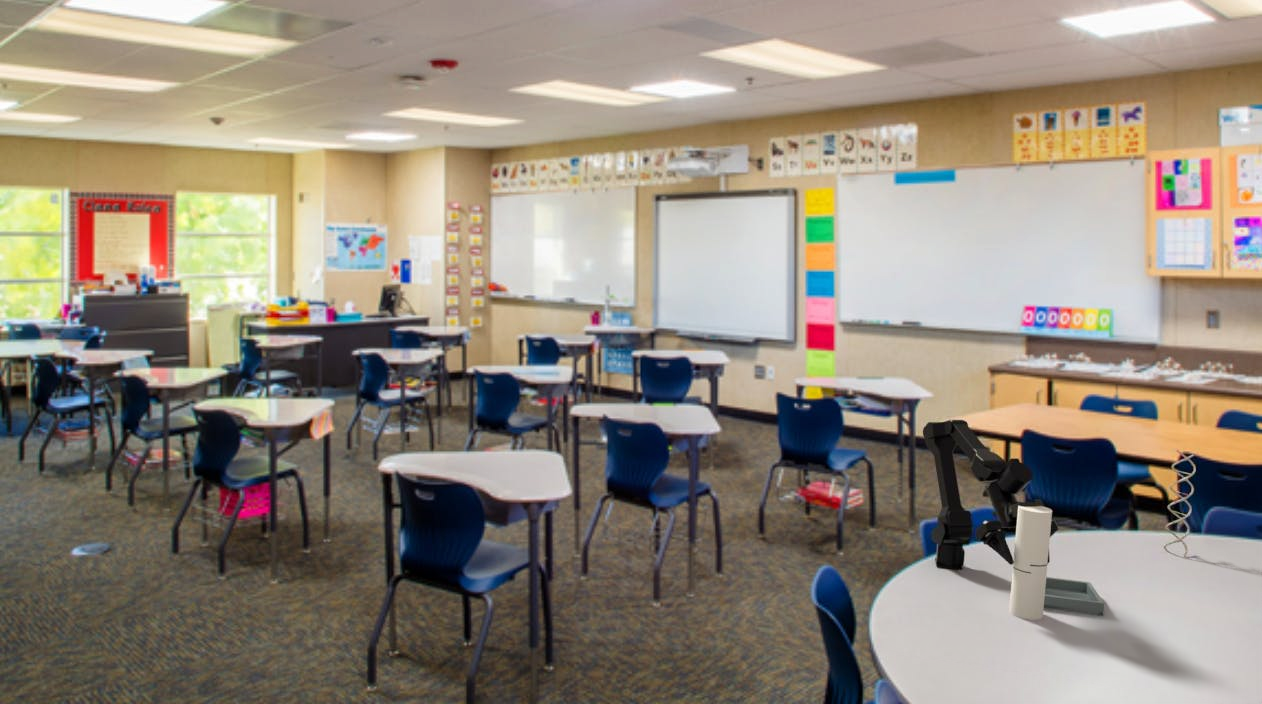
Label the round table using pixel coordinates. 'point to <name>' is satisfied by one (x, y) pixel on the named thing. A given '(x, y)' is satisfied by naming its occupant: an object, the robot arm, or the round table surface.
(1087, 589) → the tray
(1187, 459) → the dna model
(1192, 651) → the round table surface
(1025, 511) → the cylindrical container
